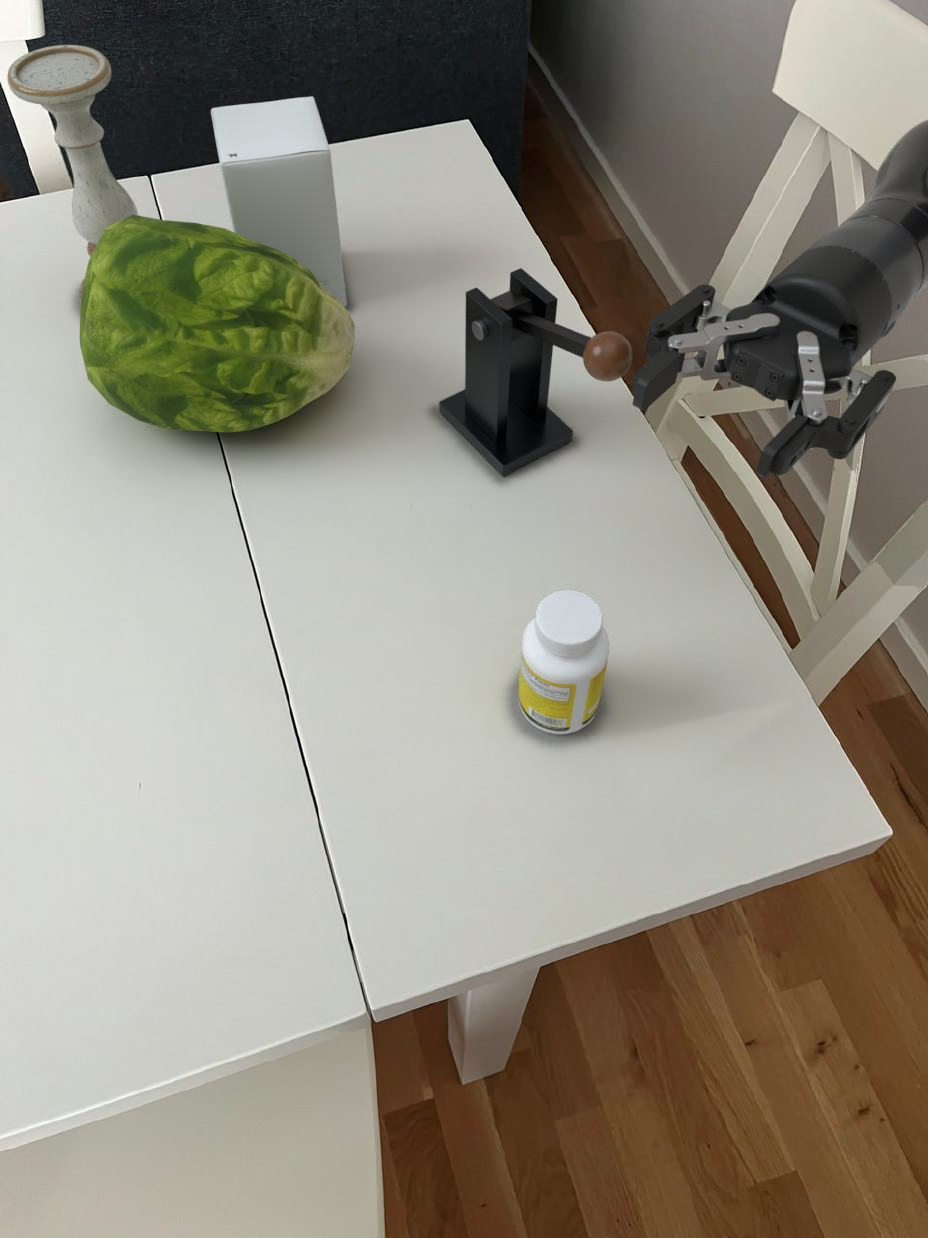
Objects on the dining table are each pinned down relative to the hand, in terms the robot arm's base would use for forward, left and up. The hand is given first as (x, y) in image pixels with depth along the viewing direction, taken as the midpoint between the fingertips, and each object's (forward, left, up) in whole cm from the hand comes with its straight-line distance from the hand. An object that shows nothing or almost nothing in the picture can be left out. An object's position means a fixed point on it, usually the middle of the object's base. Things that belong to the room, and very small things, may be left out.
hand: (699, 430), depth 57 cm
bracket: (+18, -10, -17) cm, 27 cm away
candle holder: (+56, -7, -17) cm, 59 cm away
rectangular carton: (+44, -16, -17) cm, 50 cm away
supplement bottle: (+2, +11, -17) cm, 20 cm away
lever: (+13, -8, -6) cm, 16 cm away
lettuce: (+39, -1, -17) cm, 43 cm away
